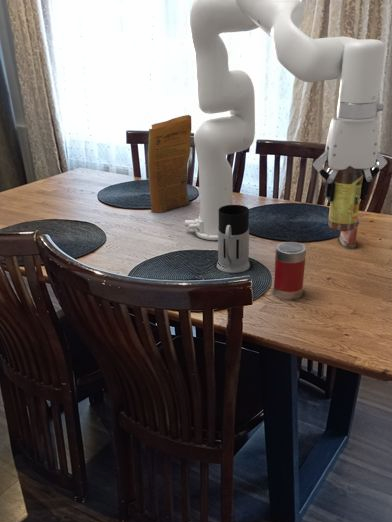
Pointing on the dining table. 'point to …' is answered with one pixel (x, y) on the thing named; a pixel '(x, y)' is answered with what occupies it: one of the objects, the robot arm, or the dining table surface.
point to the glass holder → (233, 238)
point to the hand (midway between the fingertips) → (345, 198)
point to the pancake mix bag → (169, 163)
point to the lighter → (349, 237)
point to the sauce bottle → (346, 199)
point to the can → (289, 270)
